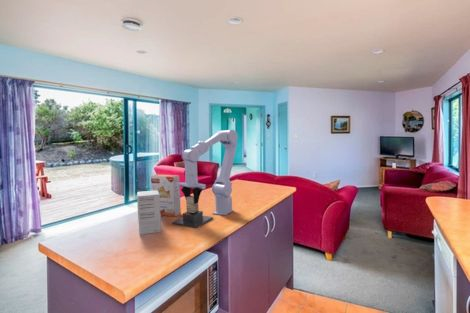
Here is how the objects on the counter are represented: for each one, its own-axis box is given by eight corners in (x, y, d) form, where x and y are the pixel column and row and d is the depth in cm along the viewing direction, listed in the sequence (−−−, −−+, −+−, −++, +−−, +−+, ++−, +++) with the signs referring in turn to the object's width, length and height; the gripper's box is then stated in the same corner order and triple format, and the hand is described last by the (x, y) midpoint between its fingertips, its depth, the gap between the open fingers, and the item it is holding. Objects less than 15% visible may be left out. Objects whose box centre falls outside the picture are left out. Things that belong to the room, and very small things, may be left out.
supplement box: (138, 228, 120) (136, 191, 119) (159, 225, 124) (158, 189, 122) (139, 235, 112) (136, 196, 110) (161, 232, 115) (159, 193, 113)
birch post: (191, 209, 130) (191, 195, 129) (198, 210, 128) (198, 195, 127) (186, 211, 126) (186, 197, 126) (193, 212, 124) (193, 197, 124)
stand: (190, 215, 137) (189, 205, 137) (213, 219, 131) (212, 208, 130) (172, 224, 125) (171, 213, 124) (196, 228, 118) (196, 216, 118)
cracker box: (152, 214, 140) (150, 175, 138) (159, 211, 146) (157, 174, 144) (174, 217, 135) (173, 176, 133) (181, 213, 141) (179, 174, 139)
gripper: (173, 175, 125) (175, 203, 127) (199, 176, 119) (200, 206, 120) (183, 173, 132) (184, 199, 133) (207, 174, 125) (208, 202, 126)
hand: (192, 202), depth 127 cm, fingers closed on birch post, 4 cm apart
